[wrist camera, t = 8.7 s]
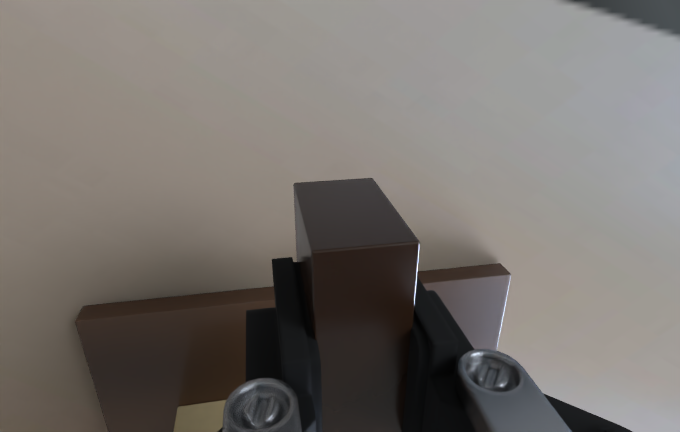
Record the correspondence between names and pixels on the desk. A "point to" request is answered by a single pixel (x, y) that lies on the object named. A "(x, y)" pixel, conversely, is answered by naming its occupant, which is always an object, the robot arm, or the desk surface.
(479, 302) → the cake board
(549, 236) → the desk surface
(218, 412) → the cake
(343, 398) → the knife
